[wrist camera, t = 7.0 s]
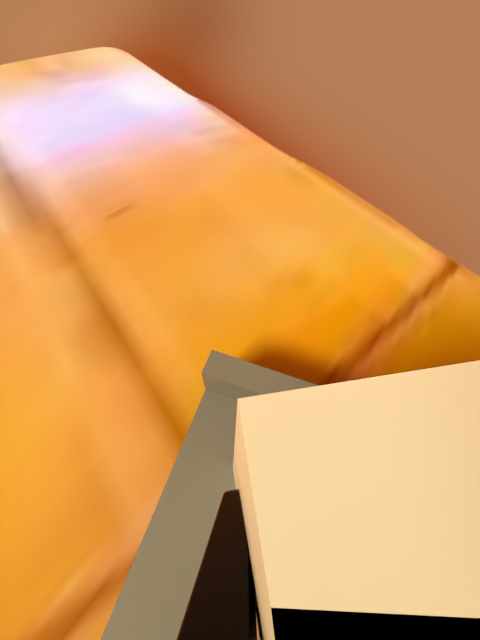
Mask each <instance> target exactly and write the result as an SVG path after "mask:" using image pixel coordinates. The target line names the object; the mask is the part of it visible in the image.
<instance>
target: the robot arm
mask: <svg viewBox="0 0 480 640" xmlns="http://www.w3.org/2000/svg"><path fill="white" fill-rule="evenodd" d="M176 640H257V621H256V608H255V600H254V591H253V582H252V574H251V565H250V557H249V548H248V541H247V535H246V529H245V523H244V516H243V510H242V504H241V498H240V492H239V489H235V490H230V491H226V492H224V494H223V496H222V499H221V503H220V506H219V509H218V512H217V515H216V518H215V521H214V524H213V527H212V530H211V534H210V537H209V540H208V543H207V546H206V549H205V552H204V555H203V558H202V562H201V565H200V568H199V571H198V574H197V577H196V580H195V583H194V586H193V590H192V593H191V596H190V599H189V602H188V605H187V608H186V611H185V614H184V618H183V621H182V624H181V627H180V630H179V633H178V636H177V639H176Z"/></svg>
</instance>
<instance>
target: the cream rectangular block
mask: <svg viewBox="0 0 480 640" xmlns="http://www.w3.org/2000/svg"><path fill="white" fill-rule="evenodd" d="M233 471H234V478H235V486H236V489H239V492H240V498H241V504H242V510H243V516H244V523H245V529H246V535H247V541H248V548H249V557H250V565H251V574H252V582H253V591H254V600H255V608H256V621H257V640H480V360H478V361H472V362H466V363H459V364H453V365H447V366H440V367H434V368H428V369H421V370H415V371H409V372H402V373H396V374H390V375H383V376H377V377H371V378H365V379H358V380H352V381H346V382H339V383H333V384H327V385H320V386H314V387H308V388H301V389H295V390H289V391H282V392H276V393H270V394H263V395H257V396H251V397H244V398H238V400H237V414H236V429H235V444H234V459H233Z"/></svg>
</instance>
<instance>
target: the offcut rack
mask: <svg viewBox="0 0 480 640" xmlns="http://www.w3.org/2000/svg"><path fill="white" fill-rule="evenodd" d="M202 377H203V380H204V384H205V388H206V390H205V392H204V395H203V397H202V400H201V402H200V404H199V407H198V409H197V412H196V414H195V416H194V419H193V421H192V423H191V426H190V428H189V431H188V433H187V435H186V438H185V440H184V443H183V445H182V447H181V450H180V452H179V454H178V457H177V459H176V462H175V464H174V466H173V469H172V471H171V474H170V476H169V478H168V481H167V483H166V485H165V488H164V490H163V493H162V495H161V497H160V500H159V502H158V504H157V507H156V509H155V512H154V514H153V516H152V519H151V521H150V524H149V526H148V528H147V531H146V533H145V535H144V538H143V540H142V543H141V545H140V547H139V550H138V552H137V555H136V557H135V559H134V562H133V564H132V566H131V569H130V571H129V574H128V576H127V578H126V581H125V583H124V586H123V588H122V590H121V593H120V595H119V597H118V600H117V602H116V605H115V607H114V609H113V612H112V614H111V616H110V619H109V621H108V624H107V626H106V628H105V631H104V633H103V636H102V638H101V640H176V639H177V636H178V633H179V630H180V627H181V624H182V621H183V618H184V614H185V611H186V608H187V605H188V602H189V599H190V596H191V593H192V590H193V586H194V583H195V580H196V577H197V574H198V571H199V568H200V565H201V562H202V558H203V555H204V552H205V549H206V546H207V543H208V540H209V537H210V534H211V530H212V527H213V524H214V521H215V518H216V515H217V512H218V509H219V506H220V503H221V499H222V496H223V494H224V492H226V491H230V490H235V489H236V486H235V478H234V471H233V459H234V444H235V429H236V414H237V400H238V398H244V397H251V396H257V395H263V394H270V393H276V392H282V391H289V390H295V389H301V388H308V387H314V386H319V385H316V384H313V383H310V382H307V381H304V380H301V379H298V378H295V377H292V376H289V375H286V374H283V373H280V372H277V371H274V370H271V369H268V368H265V367H262V366H259V365H256V364H253V363H250V362H247V361H244V360H241V359H238V358H235V357H232V356H229V355H226V354H223V353H220V352H217V351H214V350H212V351H211V353H210V355H209V358H208V360H207V362H206V365H205V367H204V369H203V371H202Z"/></svg>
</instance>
